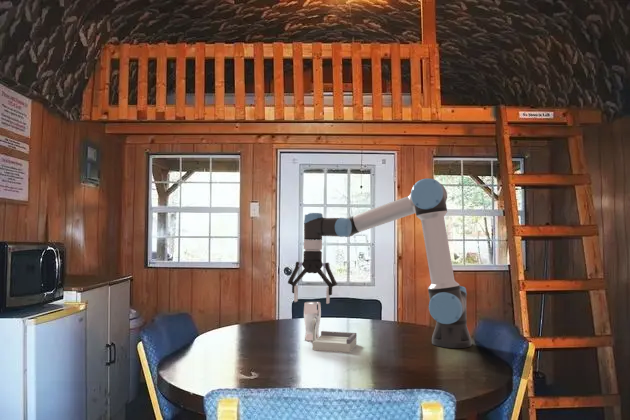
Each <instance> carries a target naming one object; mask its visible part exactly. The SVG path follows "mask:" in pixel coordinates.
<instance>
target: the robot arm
mask: <svg viewBox="0 0 630 420" xmlns="http://www.w3.org/2000/svg"><path fill="white" fill-rule="evenodd" d="M447 200H448V191H447V189H446V187H445V186H444V185H443V184H441V183H440V182H439V181H438V180H436V179H435V178H423V179H420V180H418V181H417V182H415V183H414V184H413V186H412V188H411V190H410V193H409V195H408V196H405V197H402V198H399V199H397V200H393V201H391V202H389V203H386V204H382V205H380V206H377V207H374V208H371V209H368V210H366V211H363V212H360V213H357V214H354V215H352V216H349V217H346V218H345V217H324V215H323V213H321V212H306V213H305V214H304V220H303V250H304V251H303V261H302V262H300V261H295V266H294V269H293V270H292V273H291V275H290V276H289V279H288V281H287V284H289V285H291V293H292V294H293V303H297V302H298V301H299V300H298V299H299V285H297V284H298V283H299V282H300V281H301V279H303V277H304V276H305V275H306V274H307V273H308V274H318V275H319V276H320V278H321V279H322V280H323V282H324V283H325V284H326V285H327V287H326V291H325V292H326V293H325V294H326V295H325V296H326V302H325V303H326V304H327V305H328V304H330V301H331V300H330V299H331V297H330V296H331V295H333V287H335V286H337V285H338V283H337V281H336V279H335V276H334V274H333V271H332V270H331V266H330V262H324V263H323V261H322V260H323V259H322V257H323V252H322V249H323V237H340V238H344V237H345V238H348V237H349V238H350V237H353V236H354V235H356V234H359V233H361V232H364V231H366V230H367V231H368V230H370V229H374V228H375V227H379V226H381V225H385V224H388V223H390V222H393V221H396V220H399V219H403V218H405V217H408V216H411V215H414V214H415V216H416V218H418V220H420V221H421V227H422V235H423V240H424V248H425V252H426V253H425V254H426V260H427V265H428V271H429V278H430V285H429V286H427V290H428V298H429V302H428V311H429V314H430V316H431V318H432V319H434V321H436V322H435V323H436V324H435V326H434V330H433V333H432V337H431V344H432V346H433V345H434V346H436V347H440V348H447V349H448V348H449V349H450V348H451V349H465V348H470V347H472V337H471V335H470V331H469V328H468V326H467V325H468V323H467V295H468V293H467V288H466V287H465V286H462V285H460V283H459V282H457V281H456V280H455V275H454V269H453V261H452V255H451V251H450V245H449V239H448V234H447V233H448V232H447V227H446V220H445V216H446V214H447V213H448V208H447ZM301 267H303V270H302V271H301V272H300V274H299V275H297V274H298V272H299V270H300V268H301ZM322 267H323V268H324V269H325V271H326V273H327V275H328V277H327V276H326V274H325V273H324V272H323V270H322ZM296 275H297V277H296Z"/></svg>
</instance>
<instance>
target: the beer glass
mask: <svg viewBox="0 0 630 420" xmlns="http://www.w3.org/2000/svg"><path fill="white" fill-rule="evenodd" d="M321 307H322V306H321V302H320V301H306V302H304V306H303V320H304V326H305V335H304V341H307V342H313V341H314V340H316V339H317V338H318V337H320V334H319V330H320V329H319V328H320V324H321V316H322V310H321V309H322V308H321Z"/></svg>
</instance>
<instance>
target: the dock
mask: <svg viewBox="0 0 630 420" xmlns="http://www.w3.org/2000/svg"><path fill="white" fill-rule="evenodd" d="M356 346H357V332H345V331H342V332H341V331H330V330H329V331H327V330H322V331H320V335H319V337H318V338H317V339H316V340H314V341H312V351H326V352H338V351H339V352H340V353H351V351H352V350H353V349H354V348H355V347H356ZM339 352H338V353H339Z"/></svg>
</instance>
